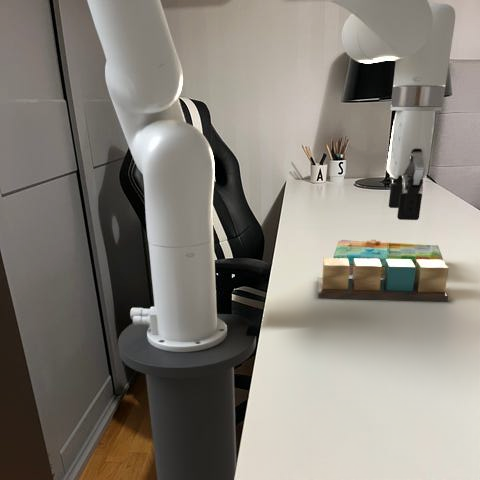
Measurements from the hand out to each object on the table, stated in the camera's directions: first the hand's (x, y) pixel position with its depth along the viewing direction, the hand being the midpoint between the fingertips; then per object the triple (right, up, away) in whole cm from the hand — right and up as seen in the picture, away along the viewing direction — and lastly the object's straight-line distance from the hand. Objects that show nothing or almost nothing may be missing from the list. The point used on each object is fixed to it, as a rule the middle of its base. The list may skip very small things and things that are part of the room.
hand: (402, 213), depth 83 cm
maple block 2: (-5, -12, +6) cm, 14 cm away
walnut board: (-2, -13, +6) cm, 14 cm away
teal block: (+1, -12, +5) cm, 13 cm away
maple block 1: (-10, -11, +7) cm, 17 cm away
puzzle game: (+2, -8, +18) cm, 20 cm away
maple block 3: (+6, -12, +5) cm, 14 cm away
